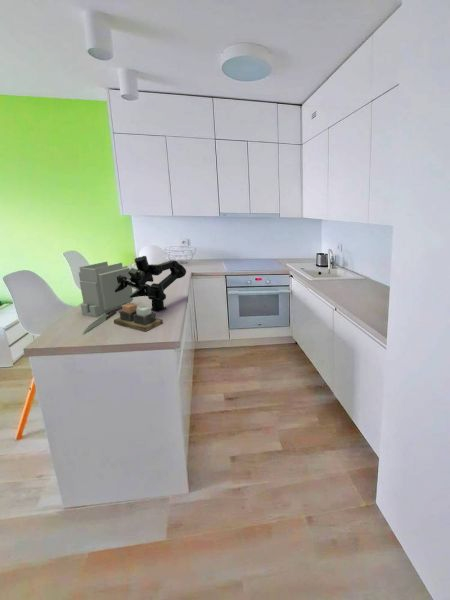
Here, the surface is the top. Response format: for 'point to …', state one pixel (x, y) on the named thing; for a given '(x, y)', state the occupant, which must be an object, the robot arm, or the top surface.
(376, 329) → the top surface
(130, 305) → the terracotta button
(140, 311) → the grey button
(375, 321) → the top surface
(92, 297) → the toaster
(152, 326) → the button board
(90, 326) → the kitchen knife
